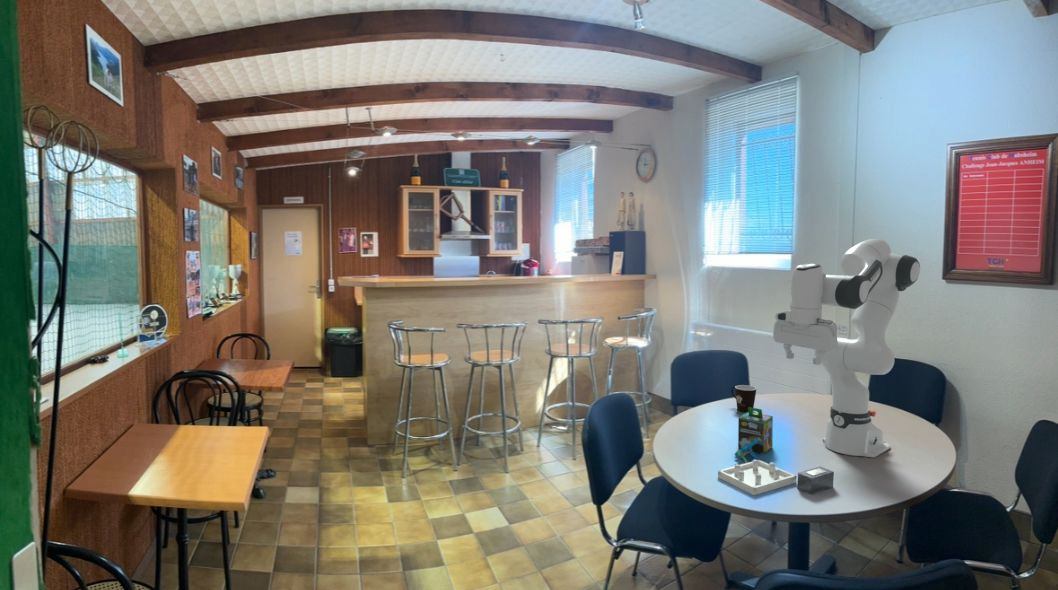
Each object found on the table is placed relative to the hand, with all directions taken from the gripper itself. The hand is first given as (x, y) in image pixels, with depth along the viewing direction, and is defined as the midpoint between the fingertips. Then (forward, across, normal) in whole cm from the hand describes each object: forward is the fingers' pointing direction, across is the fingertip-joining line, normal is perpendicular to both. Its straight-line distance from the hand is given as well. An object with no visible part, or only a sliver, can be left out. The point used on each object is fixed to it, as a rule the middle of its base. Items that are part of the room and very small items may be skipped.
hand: (803, 361), depth 175 cm
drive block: (+37, -9, +3) cm, 38 cm away
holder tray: (+36, +3, +14) cm, 39 cm away
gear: (+37, +17, +4) cm, 41 cm away
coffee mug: (+36, +56, -38) cm, 77 cm away
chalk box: (+36, +22, -6) cm, 43 cm away
